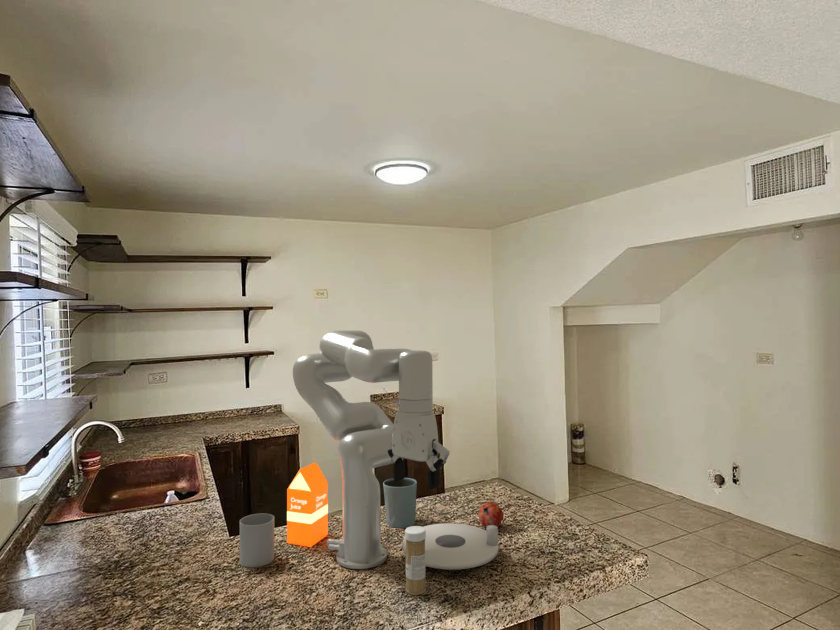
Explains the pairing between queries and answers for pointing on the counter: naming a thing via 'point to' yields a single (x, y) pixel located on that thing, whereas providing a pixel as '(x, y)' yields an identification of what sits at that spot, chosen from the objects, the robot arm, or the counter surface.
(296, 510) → the orange juice
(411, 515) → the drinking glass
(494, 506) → the pomegranate
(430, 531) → the turntable
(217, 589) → the counter surface
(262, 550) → the cup
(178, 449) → the counter surface
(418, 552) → the sprinkles bottle
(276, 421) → the counter surface
